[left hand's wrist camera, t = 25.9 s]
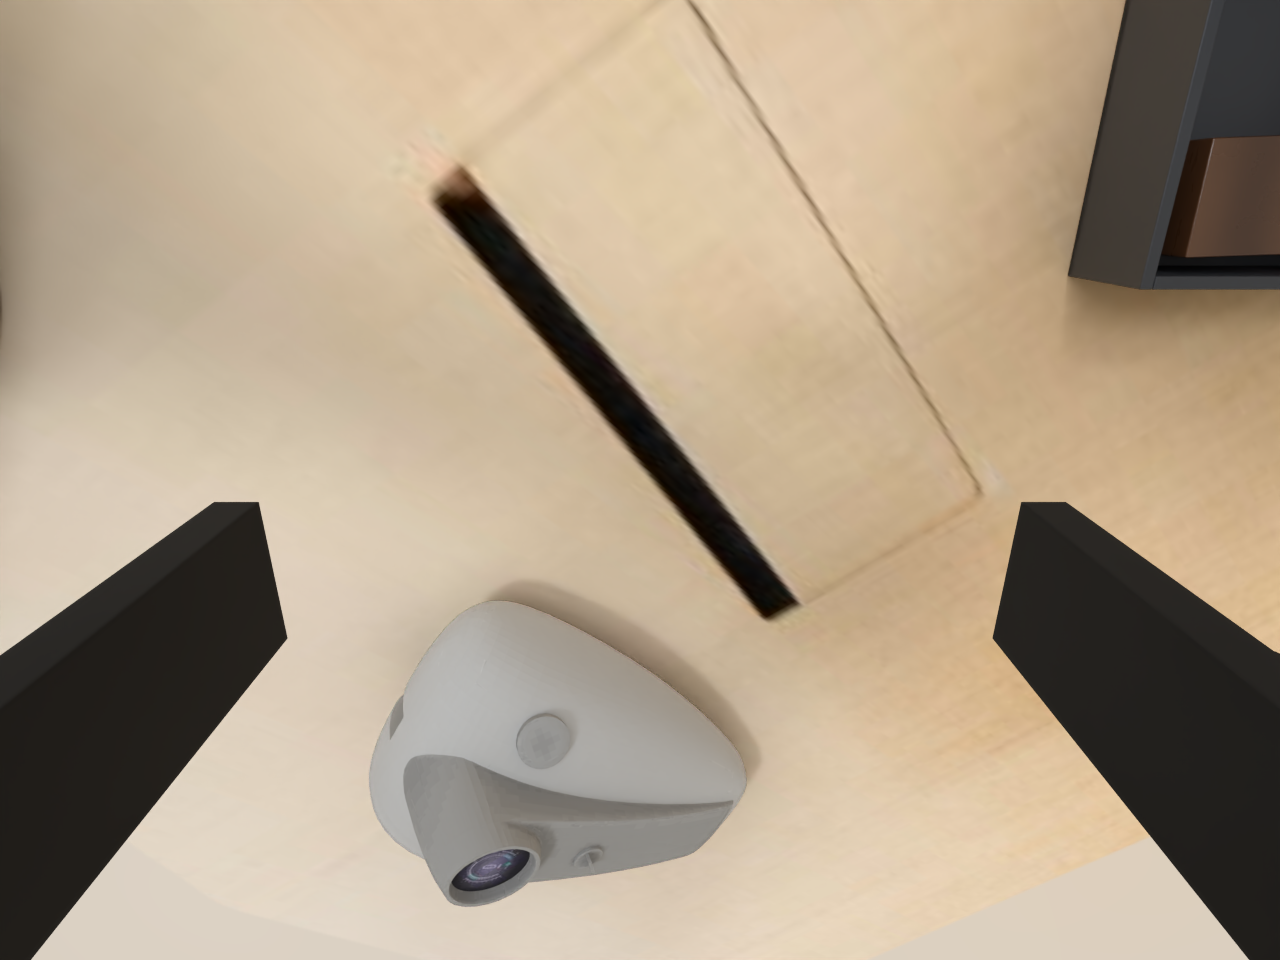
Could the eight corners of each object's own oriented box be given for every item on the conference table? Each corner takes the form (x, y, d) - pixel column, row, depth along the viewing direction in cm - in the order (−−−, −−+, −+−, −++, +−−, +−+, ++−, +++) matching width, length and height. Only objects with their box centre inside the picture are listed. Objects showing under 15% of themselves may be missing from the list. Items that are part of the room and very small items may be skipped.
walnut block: (1117, 250, 38) (1185, 258, 33) (1139, 145, 36) (1213, 137, 31) (1214, 247, 37) (1295, 254, 33) (1240, 141, 36) (1330, 132, 31)
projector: (473, 867, 54) (417, 1093, 41) (337, 619, 46) (210, 795, 33) (758, 800, 52) (800, 1015, 38) (667, 525, 44) (679, 673, 30)
